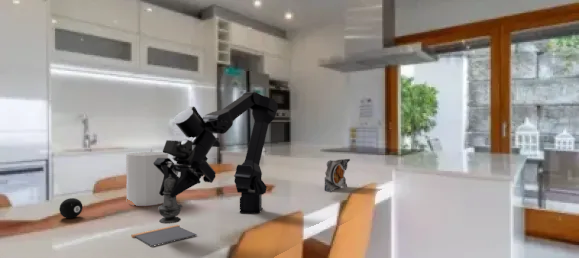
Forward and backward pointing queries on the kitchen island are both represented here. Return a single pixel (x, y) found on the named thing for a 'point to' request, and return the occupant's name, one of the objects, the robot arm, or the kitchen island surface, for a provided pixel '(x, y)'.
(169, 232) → the dough scraper
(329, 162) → the grey square flange bearing
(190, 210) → the kitchen island surface
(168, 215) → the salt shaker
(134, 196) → the container
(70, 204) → the billiard ball
